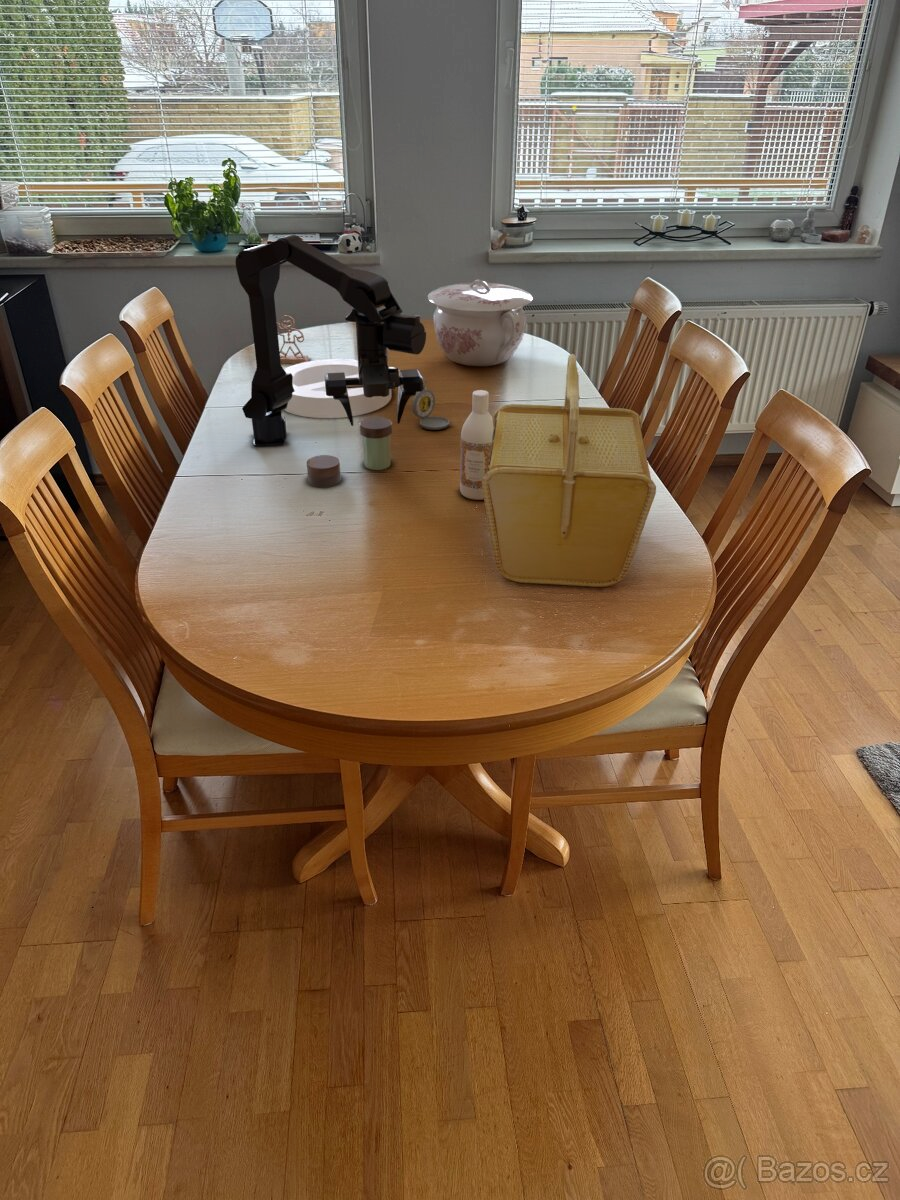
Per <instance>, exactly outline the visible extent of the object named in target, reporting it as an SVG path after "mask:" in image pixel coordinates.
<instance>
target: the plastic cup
mask: <svg viewBox="0 0 900 1200" xmlns="http://www.w3.org/2000/svg"><path fill="white" fill-rule="evenodd" d="M362 445H363V463H364V467H365V468H367V470H368V469H369V470H372V471H380V470H381V471H383V470H386V469H387V468H389V467H390V466H391V436H390V435H389V436H387V437H384V438H367V437H364V436H362Z"/></svg>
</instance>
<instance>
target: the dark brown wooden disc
mask: <svg viewBox="0 0 900 1200" xmlns="http://www.w3.org/2000/svg"><path fill="white" fill-rule="evenodd" d="M392 426H393V423H392V421H391V420H390V419H389V418H387V417H381V416H373V417H367V418H364V419H362V420H360V421H359V434H360V436H362V437H363V436H364V437H367V438H384V437H387V436H389V435H392V434H393V427H392Z"/></svg>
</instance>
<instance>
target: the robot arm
mask: <svg viewBox="0 0 900 1200" xmlns="http://www.w3.org/2000/svg"><path fill="white" fill-rule="evenodd" d="M234 260H235V261H234V262H235V263H234V264H235V270H236V273H237V276H238V281H239V284H240V286H241V287H242V288H243V290H244V291H245V293H246V295H247V296H248V303H249V310H250V320H251V329H252V337H253V338H252V339H253V346H254V354H255V355H254V356H255V364H256V365H255V366H256V368H255V370H254V371H255V372H254V374H253V377H252V380H251V388H250V398H249V399H248V401H247V402H246V403H245V404H244V405H243V406H242V412H243V415H244V417H245V418H247V419H251V425H252V433H253V446H254V447H264V446H265V447H266V446H283V445H285V444H286V442H285V441H286V439H287V438H288V435H287V424H286V417H285V416H283V411H284V410H283V409H286V408H287V405H288V402H289V401H290V399H291V398H292V393H293V392H295V391H294V388H293V384H292V380H293V376H292V374H291V373H286V372H285V370H284V369H285V368H284V367H283V365H282V363H281V361H280V355H281V353H280V342H279V335H278V333H279V331H278V328H277V326H278V324H277V322H278V321H277V312H276V302H275V301H276V300H275V293H276V289H277V287H278V284H279V281H280V273H281V265H283V264H285V263H289V264H292V265H293V266H295V267H296V268H298V269H300V270H301V271H303V272H305V273H306V274H309V275H310V276H312V277H314V278H316V279H317V280H318V281H321V282H322V283H324V284H325V285H326V286H329V287H330V288H333V289H334V290H335V291H336V292H337V293H339V295H340V297H341V298H342V300H343V301H344V303H346V304H347V305H349V306H350V307H351V308H352V310H351V311H350V313H348V315H346V316H345V318H344V320H345V321H346V322H351V323H355V332H356V333H355V335H356V336H355V337H356V353H357V354H356V355H357V360H358V375H359V378H345V373H344V372H343V373H327V374H326V375H325V389H326V395H327V396H333V399H335V400H339V401H340V402H341V404H342V405H343V407H344V409H345V411H346V414H347V416H348V417H347V418H348V421H349V423H350V426H351V427H354V416H352V411H351V406H350V401H349V396H348V391H347V388H363V391H364V396H365V397H369V398H371V397H374V396H382V397H386V396H388V395H389V389H391V390H395V389H397V402H396V423H397V424H400V423H401V420H402V417H403V415H404V411H405V408H406V405H407V403H408V401H409V399H410V398H411V397H414V396H415V395H416V393H417V392H421V391H423V382H424V379H422V378H423V376H422V374H421V372H420V371H419V369H417V368H411V369H409V368H408V369H399V368H398V367H397V368H396V367H394V369H391V368H388V367H389V362H388V361H389V359H388V350H389V351H393V352H400V353H404V354H411V355H415V356H416V355H420V354H421V353H422V352H423V350H424V348H425V345H426V342H427V341H426V340H427V331H426V328H425V326H424V323H422V322H421V316H420V315H416V314H411V315H410V314H402V313H403V308H401V305H400V304H399V303H398V300H397V299H396V298H395V295H394V294H393V292H392V291H391V288H390V286H389V282H388V280H387V279H386V278H385V277H384V276H382V275H380V274H377V273H374V272H372V271H369V270H365V269H360V268H354V267H351V266H349V265H346V264H345V263H343V262H341V261H339V260H337V259H336V258H334V257H332V256H331V255H329V254H328V253H325V252H324V251H322V250H320V249H319V248H316V247H315V246H313V245H311V244H310V243H308V242H306V241H305V240H303V239H302V238H301V237H300V236H299V235H296V234H289V235H286V236H282V237H279V238H277V239H276V240H274V241H273V242H270V243H269V244H259V245H257V246H253V247H250V248H247V249H243V250H241V251H239V253H238V254H237V255H236V256H235V259H234ZM381 307H384V308H383V309H380V310H378V309H379V308H381ZM399 370H400V376H399Z"/></svg>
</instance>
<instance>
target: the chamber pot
mask: <svg viewBox="0 0 900 1200" xmlns="http://www.w3.org/2000/svg"><path fill="white" fill-rule="evenodd" d="M533 299H534V298H533V295H532V294H531V292H528V291H527V290H524V289H523V288H519V287H516V286H512V285H509V284H503V283H496V282H486V281H484V280H482V279H475V280H474V281H472V282H461V283H460V282H459V283H453V284H448V285H444V286H441V287H440V286H439V287H438V288H435V289H433V290H432V291H431V292H429V293H428V295H427V300H428V301H429V302H430V303H432V304H433V305H435V306H436V308H435V310H434V312H433V314H432V315H433V316H432V321H433V322H432V323H433V328H434V332H435V338H436V343H437V344H438V347H440V349H441V351H442V352H443V354H444V355H445V356H446V357H447V359H449V360H450V361H451V362H453V363H457V364H459V365H463V366H466V367H474V368H487V367H492V366H495V365H499V364H503V363H505V362H507V361H509V360H510V359H511V358H513V355H514V354H515V352H516V351H517V349H518V348H519V346H520V345H521V343H522V341H523V339H524V335H525V331H526V326H527V315H526V313H525V311H524V309H523V308H524V307H526V306H528V305H530V304H531V303H532V301H533Z"/></svg>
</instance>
